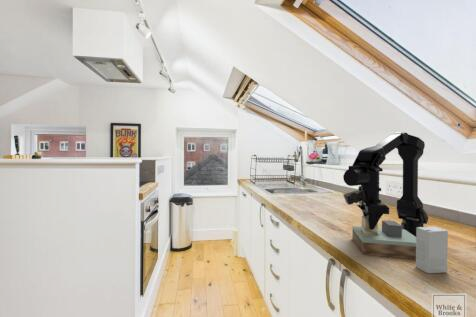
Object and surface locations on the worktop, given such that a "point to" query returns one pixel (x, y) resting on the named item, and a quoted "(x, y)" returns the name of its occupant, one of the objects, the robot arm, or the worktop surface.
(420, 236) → the skincare box
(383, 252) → the toolbox base
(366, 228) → the beige rectangular block
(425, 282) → the worktop surface
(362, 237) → the toolbox lid
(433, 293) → the worktop surface
